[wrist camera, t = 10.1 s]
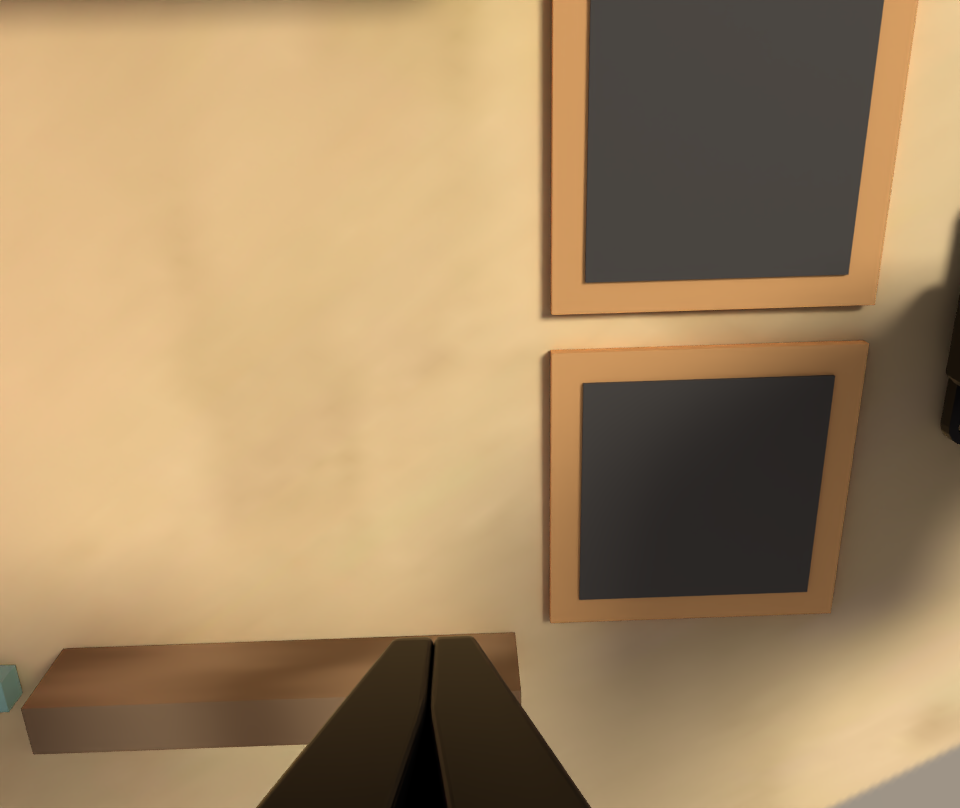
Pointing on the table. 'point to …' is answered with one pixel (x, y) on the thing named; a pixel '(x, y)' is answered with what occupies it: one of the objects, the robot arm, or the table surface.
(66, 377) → the table surface
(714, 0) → the pit traps
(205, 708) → the channel
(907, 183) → the table surface
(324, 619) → the table surface
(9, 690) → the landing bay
